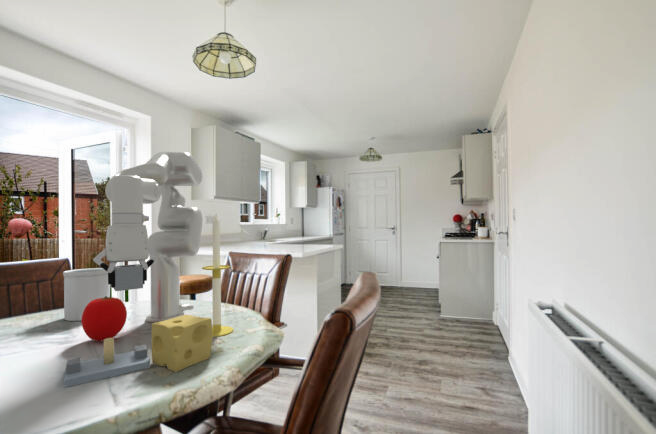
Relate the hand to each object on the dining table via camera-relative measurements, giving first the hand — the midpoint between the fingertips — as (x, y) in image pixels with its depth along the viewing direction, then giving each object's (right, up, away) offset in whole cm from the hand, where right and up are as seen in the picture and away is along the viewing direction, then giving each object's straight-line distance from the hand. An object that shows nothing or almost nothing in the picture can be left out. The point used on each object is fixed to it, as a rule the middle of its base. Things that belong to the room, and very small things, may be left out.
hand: (127, 284), depth 93 cm
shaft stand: (+4, -17, -14) cm, 22 cm away
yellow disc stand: (+20, -18, +13) cm, 30 cm away
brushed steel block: (0, -1, 0) cm, 1 cm away
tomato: (-11, -18, +7) cm, 23 cm away
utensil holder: (-36, -19, +34) cm, 53 cm away
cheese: (+19, -17, -9) cm, 27 cm away
